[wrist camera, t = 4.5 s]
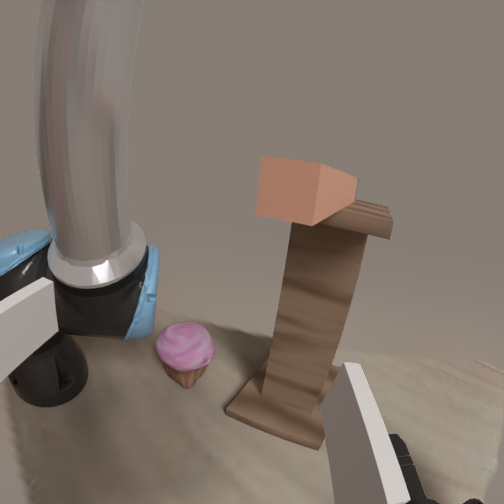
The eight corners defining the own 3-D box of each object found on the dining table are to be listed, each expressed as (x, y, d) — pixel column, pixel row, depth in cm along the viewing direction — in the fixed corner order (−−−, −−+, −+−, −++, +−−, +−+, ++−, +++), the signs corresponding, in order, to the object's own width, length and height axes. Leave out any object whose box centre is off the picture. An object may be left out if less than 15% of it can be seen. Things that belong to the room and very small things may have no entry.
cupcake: (149, 376, 39) (142, 326, 36) (184, 353, 46) (184, 306, 43) (189, 405, 35) (188, 355, 32) (224, 376, 42) (228, 327, 39)
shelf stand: (318, 450, 28) (404, 224, 19) (225, 414, 34) (248, 192, 25) (344, 375, 44) (393, 208, 35) (274, 352, 50) (302, 189, 41)
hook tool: (312, 226, 13) (321, 163, 12) (207, 205, 15) (212, 152, 14) (355, 201, 34) (358, 178, 33) (312, 192, 36) (315, 170, 35)
